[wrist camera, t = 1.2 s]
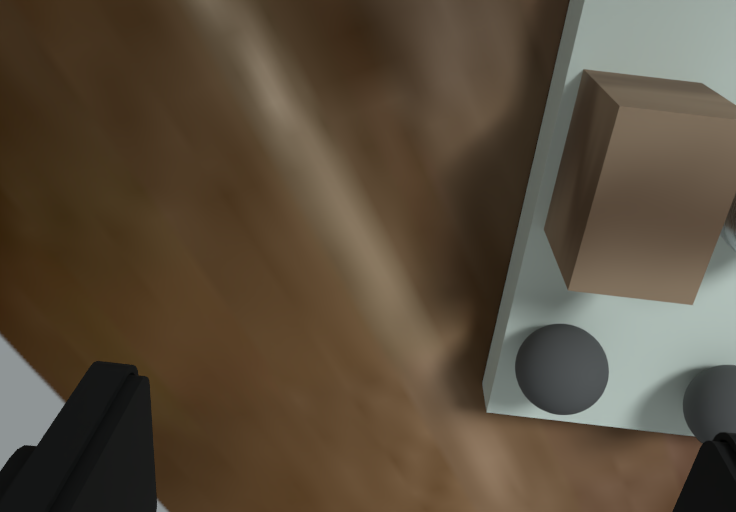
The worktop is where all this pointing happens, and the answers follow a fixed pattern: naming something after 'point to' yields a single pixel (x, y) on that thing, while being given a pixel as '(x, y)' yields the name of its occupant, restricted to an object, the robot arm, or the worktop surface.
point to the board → (604, 312)
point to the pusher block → (642, 186)
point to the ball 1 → (561, 369)
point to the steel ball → (730, 227)
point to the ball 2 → (711, 402)
